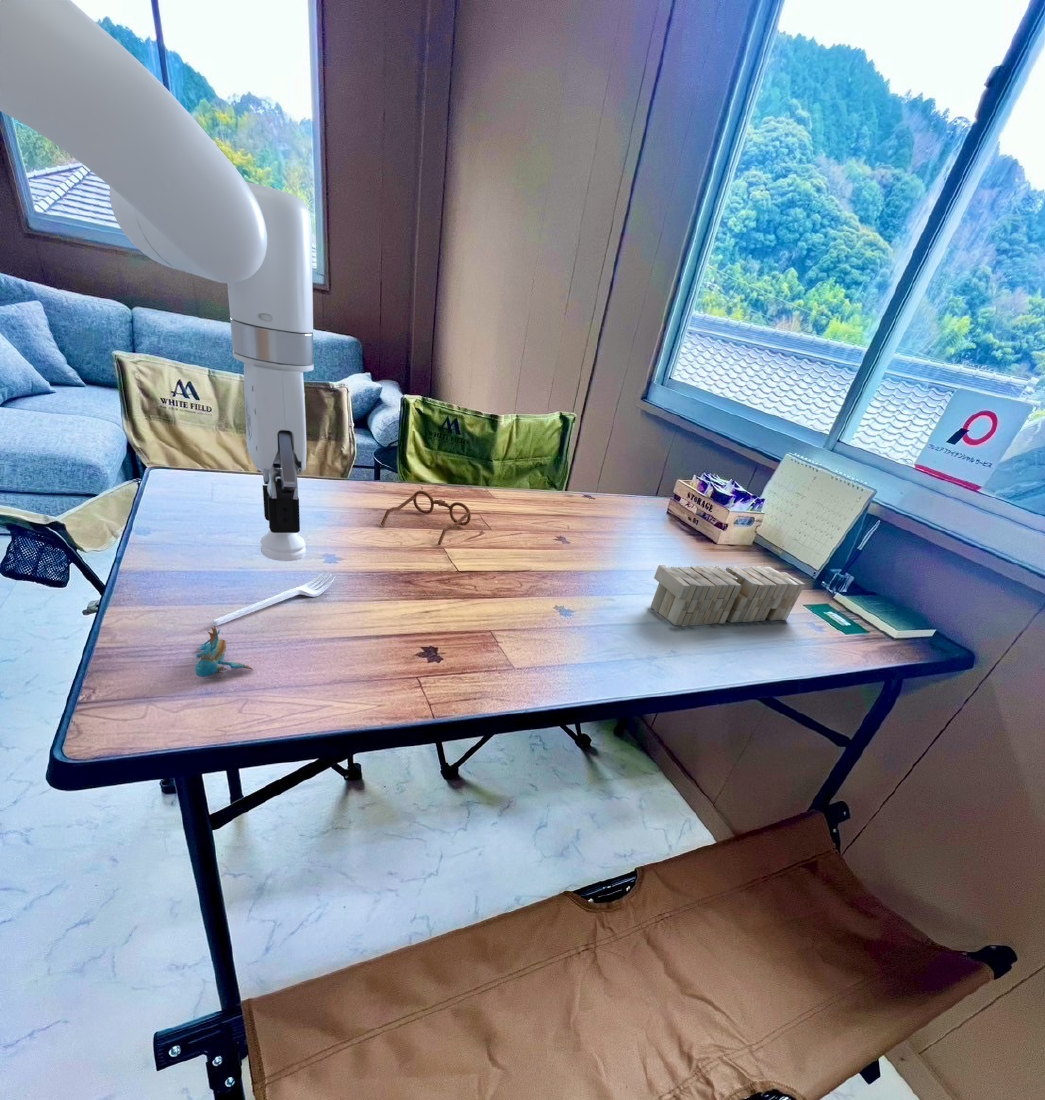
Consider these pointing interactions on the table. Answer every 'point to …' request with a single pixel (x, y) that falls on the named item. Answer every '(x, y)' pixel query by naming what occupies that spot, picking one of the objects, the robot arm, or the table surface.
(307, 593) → the fork
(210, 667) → the dragon figurine
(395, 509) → the glasses
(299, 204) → the robot arm
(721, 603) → the block tower
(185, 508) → the table surface
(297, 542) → the chess pawn
